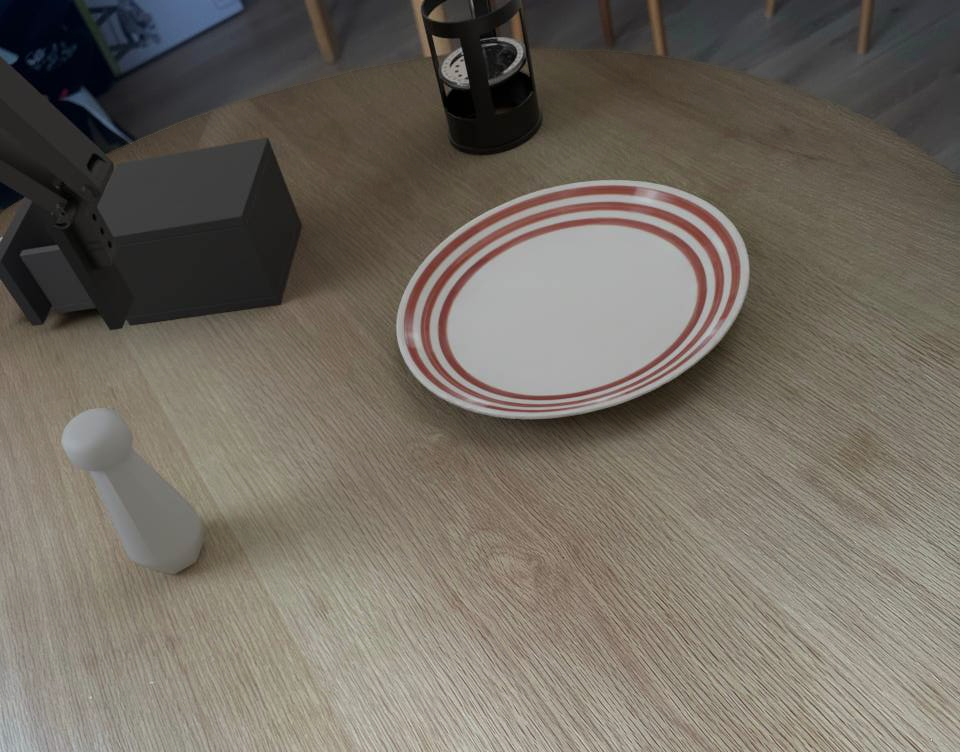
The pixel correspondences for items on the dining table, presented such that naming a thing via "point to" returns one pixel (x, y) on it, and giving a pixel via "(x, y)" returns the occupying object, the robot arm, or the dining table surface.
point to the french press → (485, 79)
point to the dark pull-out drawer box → (38, 267)
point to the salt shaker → (134, 493)
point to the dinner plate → (573, 299)
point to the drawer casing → (202, 230)
